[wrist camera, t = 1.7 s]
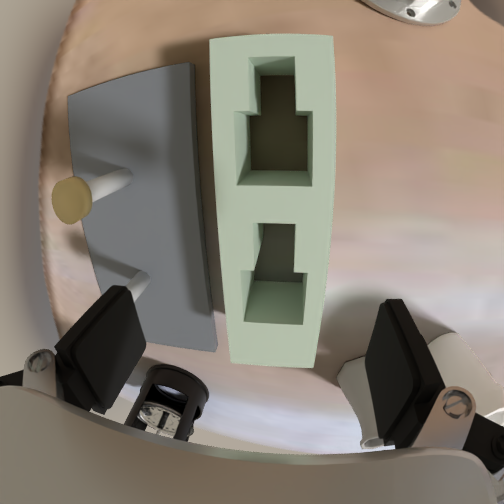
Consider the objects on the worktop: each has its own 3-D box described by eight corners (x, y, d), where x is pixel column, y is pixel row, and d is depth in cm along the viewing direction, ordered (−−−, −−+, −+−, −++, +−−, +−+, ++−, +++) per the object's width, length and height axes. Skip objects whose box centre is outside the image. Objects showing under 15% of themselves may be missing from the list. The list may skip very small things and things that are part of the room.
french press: (183, 357, 32) (112, 524, 11) (226, 399, 35) (185, 548, 14) (128, 371, 36) (62, 494, 15) (168, 408, 39) (121, 525, 18)
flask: (334, 392, 32) (337, 459, 23) (337, 356, 29) (344, 432, 20) (387, 386, 30) (399, 450, 21) (397, 349, 27) (418, 420, 18)
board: (75, 96, 20) (6, 100, 12) (194, 64, 18) (138, 37, 10) (121, 329, 32) (86, 379, 24) (217, 345, 30) (195, 409, 22)
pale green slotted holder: (231, 60, 18) (209, 39, 12) (322, 59, 17) (332, 35, 11) (242, 319, 28) (230, 362, 23) (311, 323, 27) (313, 367, 22)
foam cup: (437, 381, 29) (460, 457, 17) (394, 368, 29) (415, 459, 17) (482, 333, 25) (523, 407, 13) (445, 312, 24) (493, 403, 13)
